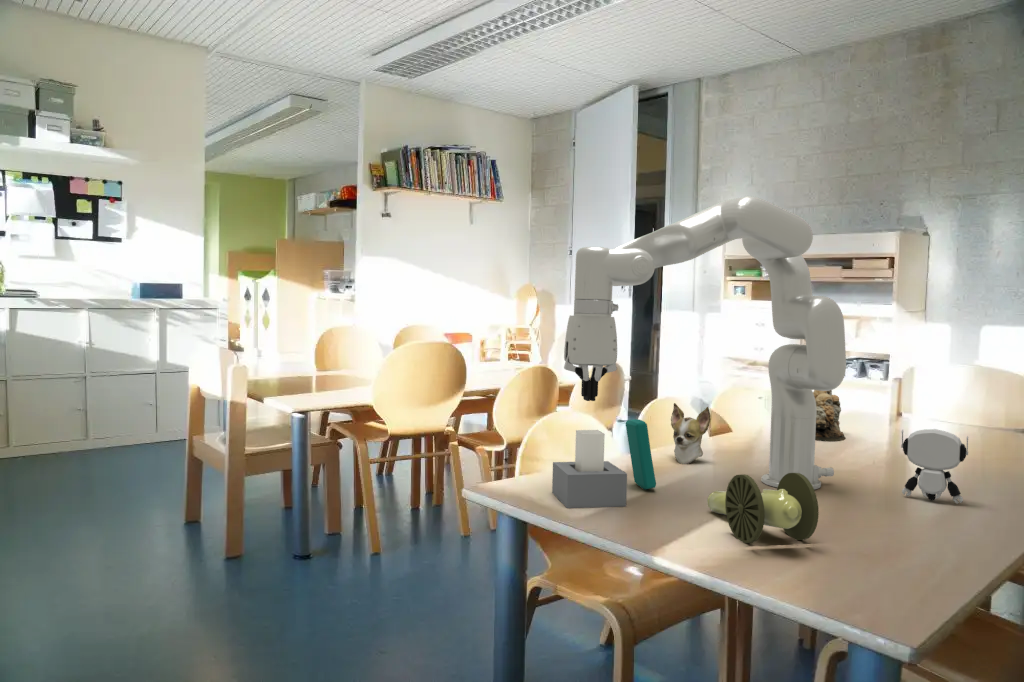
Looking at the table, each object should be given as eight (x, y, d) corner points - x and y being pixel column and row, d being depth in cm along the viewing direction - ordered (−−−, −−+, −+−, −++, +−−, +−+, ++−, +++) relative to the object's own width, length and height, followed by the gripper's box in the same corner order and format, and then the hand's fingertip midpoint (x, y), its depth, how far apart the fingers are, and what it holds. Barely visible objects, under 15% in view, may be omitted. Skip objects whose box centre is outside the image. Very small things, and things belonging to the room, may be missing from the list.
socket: (607, 491, 160) (607, 461, 160) (626, 506, 148) (627, 473, 148) (552, 492, 158) (552, 462, 157) (567, 508, 146) (567, 474, 146)
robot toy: (966, 502, 157) (970, 431, 157) (964, 507, 154) (968, 434, 153) (901, 493, 164) (904, 424, 164) (897, 497, 161) (901, 427, 160)
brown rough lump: (841, 448, 218) (843, 389, 217) (798, 443, 225) (800, 386, 224) (851, 440, 233) (853, 385, 233) (811, 435, 240) (813, 382, 239)
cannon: (687, 512, 145) (689, 454, 145) (742, 510, 148) (745, 452, 148) (760, 554, 121) (762, 484, 120) (824, 550, 124) (827, 482, 123)
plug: (596, 478, 155) (597, 429, 155) (603, 483, 151) (604, 433, 151) (574, 478, 155) (576, 430, 154) (581, 483, 150) (582, 433, 150)
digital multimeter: (646, 492, 159) (659, 489, 160) (635, 422, 159) (648, 420, 160) (634, 486, 167) (646, 483, 167) (623, 420, 166) (636, 417, 167)
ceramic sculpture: (658, 463, 190) (660, 404, 190) (675, 459, 197) (677, 401, 196) (697, 470, 183) (699, 409, 183) (713, 465, 190) (715, 406, 189)
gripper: (622, 310, 156) (618, 398, 157) (552, 307, 153) (548, 397, 154) (634, 310, 149) (630, 403, 150) (561, 308, 146) (557, 402, 147)
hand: (589, 400), depth 152 cm, fingers closed
